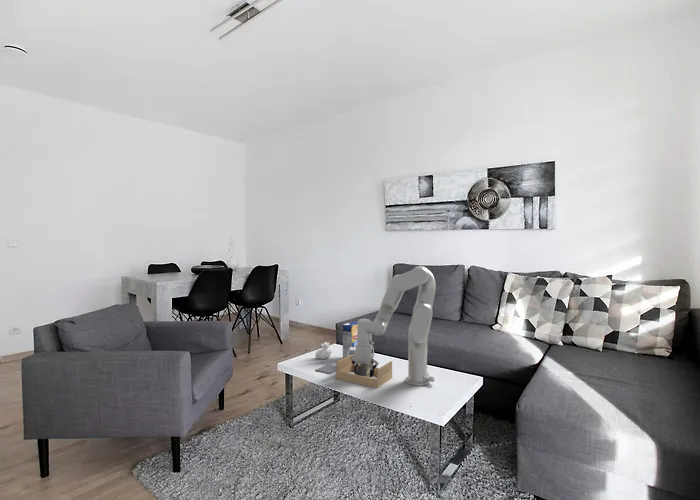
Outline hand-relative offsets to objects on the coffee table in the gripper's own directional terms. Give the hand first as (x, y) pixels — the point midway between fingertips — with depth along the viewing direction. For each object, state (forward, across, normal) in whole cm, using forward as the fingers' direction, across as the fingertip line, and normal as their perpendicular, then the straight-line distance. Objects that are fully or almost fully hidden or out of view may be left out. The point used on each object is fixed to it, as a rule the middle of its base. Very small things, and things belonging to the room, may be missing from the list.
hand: (364, 375), depth 211 cm
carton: (+2, 0, 0) cm, 2 cm away
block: (+2, 0, 0) cm, 2 cm away
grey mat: (+2, +24, -2) cm, 24 cm away
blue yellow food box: (+2, +22, -25) cm, 33 cm away
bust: (+2, +38, -18) cm, 42 cm away
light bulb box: (+2, +12, -15) cm, 19 cm away
